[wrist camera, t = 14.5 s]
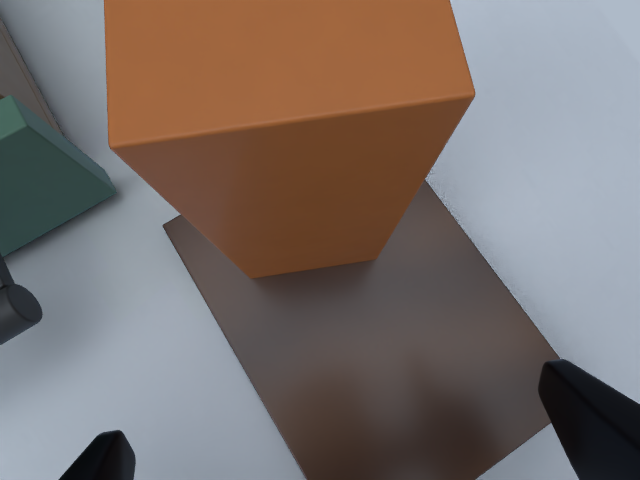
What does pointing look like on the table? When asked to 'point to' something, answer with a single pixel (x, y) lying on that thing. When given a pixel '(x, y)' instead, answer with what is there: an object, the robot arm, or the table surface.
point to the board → (384, 352)
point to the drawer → (34, 180)
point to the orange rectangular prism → (285, 117)
